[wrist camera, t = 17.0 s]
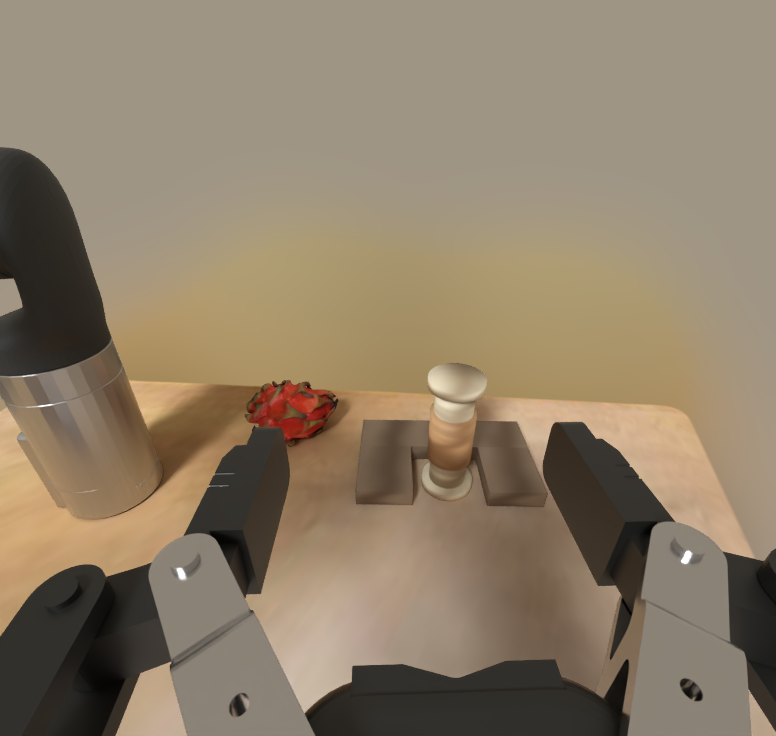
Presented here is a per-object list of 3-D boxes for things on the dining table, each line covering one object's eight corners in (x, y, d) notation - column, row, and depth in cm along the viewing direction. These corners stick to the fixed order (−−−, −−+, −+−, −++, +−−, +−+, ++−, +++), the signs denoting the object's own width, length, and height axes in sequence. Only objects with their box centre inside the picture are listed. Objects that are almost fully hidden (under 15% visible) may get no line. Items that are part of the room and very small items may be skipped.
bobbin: (423, 500, 43) (430, 393, 36) (420, 463, 47) (426, 362, 40) (474, 501, 43) (492, 394, 35) (466, 464, 47) (480, 363, 40)
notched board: (356, 504, 42) (355, 490, 41) (363, 431, 53) (363, 419, 52) (543, 506, 42) (547, 493, 41) (514, 433, 52) (516, 421, 51)
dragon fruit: (244, 449, 52) (333, 439, 56) (247, 453, 44) (350, 441, 49) (241, 385, 53) (329, 380, 57) (243, 377, 45) (344, 372, 49)
